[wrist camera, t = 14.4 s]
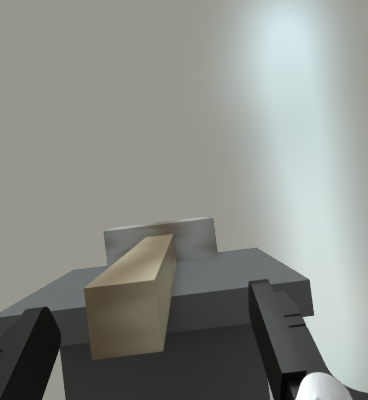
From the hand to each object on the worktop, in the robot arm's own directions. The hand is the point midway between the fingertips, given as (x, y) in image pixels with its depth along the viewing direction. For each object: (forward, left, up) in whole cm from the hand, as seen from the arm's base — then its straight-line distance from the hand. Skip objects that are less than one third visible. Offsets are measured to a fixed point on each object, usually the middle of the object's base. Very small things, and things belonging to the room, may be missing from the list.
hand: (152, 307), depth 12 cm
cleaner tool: (-1, +8, -1) cm, 9 cm away
